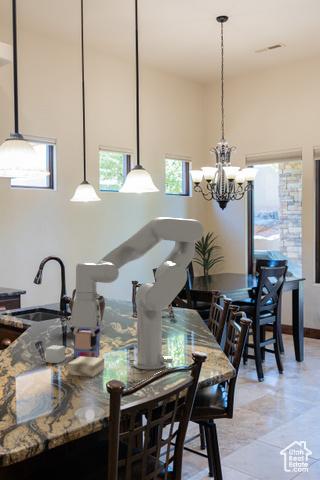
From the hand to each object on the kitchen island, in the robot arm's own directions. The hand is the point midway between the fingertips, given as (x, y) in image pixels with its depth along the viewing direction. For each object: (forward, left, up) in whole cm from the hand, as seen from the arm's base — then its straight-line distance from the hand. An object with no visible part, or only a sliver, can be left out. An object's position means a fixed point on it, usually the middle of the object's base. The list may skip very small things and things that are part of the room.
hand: (85, 345), depth 177 cm
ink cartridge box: (+9, -20, -10) cm, 24 cm away
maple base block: (0, 0, -10) cm, 10 cm away
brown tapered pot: (+29, -64, -10) cm, 71 cm away
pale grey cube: (+18, -10, -10) cm, 23 cm away
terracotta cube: (0, 0, -1) cm, 1 cm away
